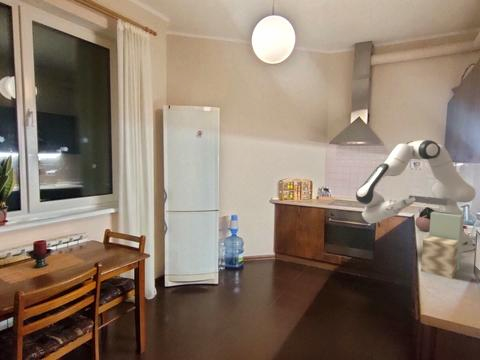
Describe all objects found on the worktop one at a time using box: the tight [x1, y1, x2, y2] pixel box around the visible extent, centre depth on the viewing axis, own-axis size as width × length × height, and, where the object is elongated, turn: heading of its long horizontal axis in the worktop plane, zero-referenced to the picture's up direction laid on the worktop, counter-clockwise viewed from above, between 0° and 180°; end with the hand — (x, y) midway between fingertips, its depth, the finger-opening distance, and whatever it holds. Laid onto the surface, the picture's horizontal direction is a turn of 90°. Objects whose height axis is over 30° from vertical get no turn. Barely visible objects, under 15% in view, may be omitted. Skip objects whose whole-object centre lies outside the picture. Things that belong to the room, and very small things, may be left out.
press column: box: [428, 210, 465, 272], centre depth 148 cm, size 12×10×26 cm
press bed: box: [420, 235, 458, 279], centre depth 140 cm, size 12×10×15 cm
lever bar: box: [408, 194, 449, 206], centre depth 153 cm, size 17×5×3 cm, turn 46°
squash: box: [418, 206, 436, 220], centre depth 243 cm, size 14×15×15 cm
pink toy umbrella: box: [414, 215, 430, 232], centre depth 221 cm, size 12×12×11 cm
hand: (416, 198), depth 156 cm, fingers closed on lever bar, 2 cm apart
